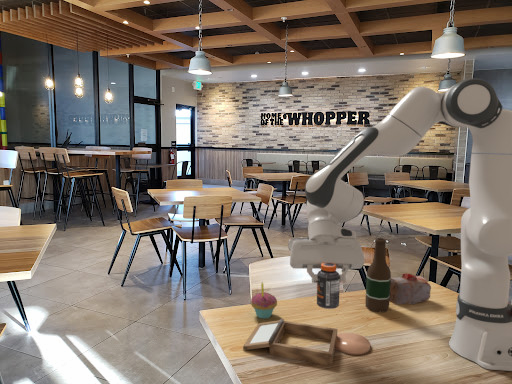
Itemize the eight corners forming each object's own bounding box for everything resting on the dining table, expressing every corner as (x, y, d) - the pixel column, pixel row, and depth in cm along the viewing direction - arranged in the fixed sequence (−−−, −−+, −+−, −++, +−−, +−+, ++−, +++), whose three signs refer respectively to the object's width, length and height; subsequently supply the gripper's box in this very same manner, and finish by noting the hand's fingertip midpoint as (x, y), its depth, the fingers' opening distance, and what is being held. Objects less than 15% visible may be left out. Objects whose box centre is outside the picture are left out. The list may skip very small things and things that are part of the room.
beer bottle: (390, 313, 124) (394, 242, 121) (366, 311, 126) (369, 240, 123) (387, 304, 132) (391, 236, 129) (364, 302, 133) (367, 235, 131)
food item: (416, 295, 141) (418, 269, 140) (432, 303, 133) (433, 276, 132) (384, 298, 137) (386, 272, 136) (398, 307, 130) (400, 279, 129)
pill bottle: (314, 300, 105) (315, 261, 103) (335, 300, 105) (336, 260, 104) (319, 310, 99) (320, 267, 98) (341, 309, 99) (343, 267, 98)
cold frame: (336, 339, 107) (337, 326, 107) (331, 365, 94) (332, 351, 94) (280, 330, 112) (280, 317, 112) (267, 354, 99) (267, 340, 99)
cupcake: (272, 323, 117) (273, 285, 115) (246, 318, 119) (247, 282, 118) (279, 311, 125) (280, 276, 123) (255, 308, 127) (255, 273, 126)
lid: (281, 330, 112) (282, 320, 112) (269, 354, 99) (269, 343, 98) (258, 326, 114) (258, 316, 114) (243, 349, 101) (243, 338, 101)
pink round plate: (370, 339, 108) (370, 335, 108) (369, 357, 98) (369, 353, 98) (334, 333, 111) (334, 330, 110) (330, 350, 101) (330, 347, 101)
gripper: (288, 231, 107) (290, 276, 98) (361, 231, 106) (369, 276, 98) (287, 243, 112) (289, 286, 103) (357, 243, 111) (364, 287, 103)
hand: (328, 282), depth 101 cm, fingers closed on pill bottle, 6 cm apart
